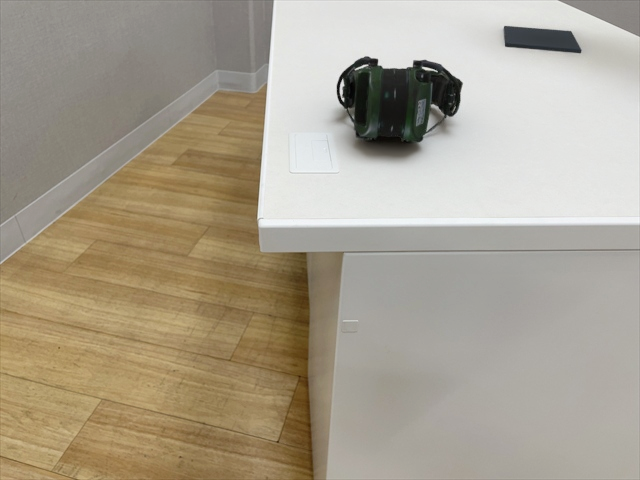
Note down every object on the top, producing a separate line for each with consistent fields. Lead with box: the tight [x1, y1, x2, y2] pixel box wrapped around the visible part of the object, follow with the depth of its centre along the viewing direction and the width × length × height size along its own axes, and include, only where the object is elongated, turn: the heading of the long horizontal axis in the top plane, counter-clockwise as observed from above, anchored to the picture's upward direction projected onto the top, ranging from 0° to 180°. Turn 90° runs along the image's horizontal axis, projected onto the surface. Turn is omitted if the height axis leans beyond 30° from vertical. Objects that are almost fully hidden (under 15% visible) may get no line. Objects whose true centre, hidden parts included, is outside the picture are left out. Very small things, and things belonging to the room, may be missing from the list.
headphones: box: [336, 55, 464, 144], centre depth 64 cm, size 13×13×20 cm
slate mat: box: [503, 25, 582, 54], centre depth 105 cm, size 14×16×1 cm
